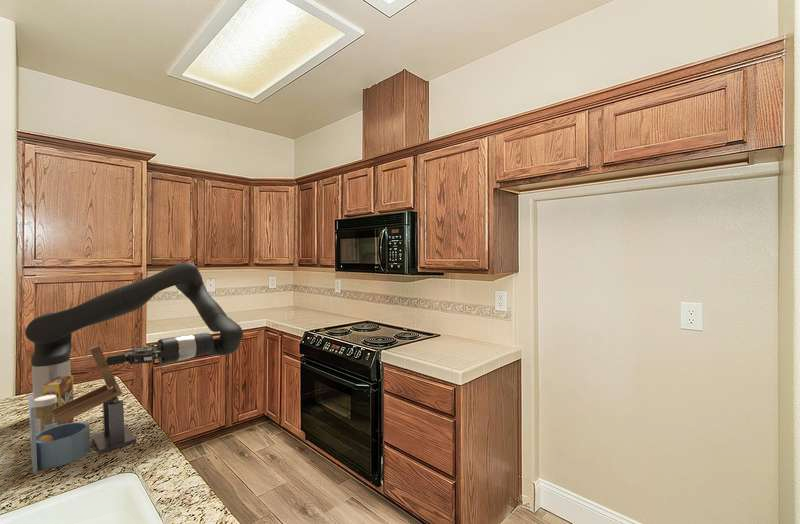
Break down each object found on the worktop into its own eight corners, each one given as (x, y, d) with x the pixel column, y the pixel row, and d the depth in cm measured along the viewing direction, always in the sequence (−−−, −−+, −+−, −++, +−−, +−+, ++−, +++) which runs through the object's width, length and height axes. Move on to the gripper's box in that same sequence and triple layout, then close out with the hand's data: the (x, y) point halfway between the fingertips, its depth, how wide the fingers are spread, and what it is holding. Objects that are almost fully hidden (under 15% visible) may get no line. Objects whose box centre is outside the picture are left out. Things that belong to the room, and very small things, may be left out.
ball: (35, 449, 94) (34, 437, 94) (50, 443, 97) (49, 431, 97) (41, 451, 93) (39, 439, 93) (56, 445, 96) (55, 433, 95)
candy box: (61, 435, 108) (58, 383, 108) (42, 438, 107) (40, 385, 107) (75, 422, 117) (73, 374, 116) (58, 425, 115) (56, 376, 115)
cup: (31, 457, 97) (28, 396, 96) (86, 441, 105) (83, 384, 105) (33, 474, 89) (30, 408, 89) (92, 455, 97) (90, 394, 97)
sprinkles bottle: (56, 446, 102) (54, 397, 102) (33, 451, 100) (31, 401, 100) (60, 439, 106) (58, 392, 106) (38, 444, 104) (36, 396, 103)
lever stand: (92, 438, 106) (90, 393, 106) (126, 428, 112) (125, 385, 112) (99, 454, 98) (97, 404, 98) (136, 442, 104) (134, 395, 104)
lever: (57, 422, 99) (30, 370, 95) (119, 392, 109) (96, 343, 105) (60, 429, 95) (31, 375, 91) (124, 397, 104) (100, 347, 100)
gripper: (169, 333, 121) (101, 344, 108) (183, 340, 112) (111, 352, 99) (170, 356, 121) (102, 369, 108) (184, 364, 112) (112, 380, 100)
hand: (107, 361), depth 104 cm, fingers closed
